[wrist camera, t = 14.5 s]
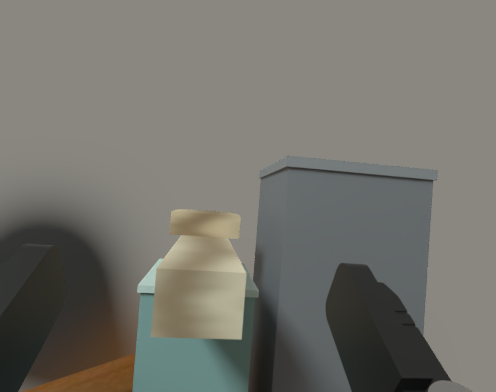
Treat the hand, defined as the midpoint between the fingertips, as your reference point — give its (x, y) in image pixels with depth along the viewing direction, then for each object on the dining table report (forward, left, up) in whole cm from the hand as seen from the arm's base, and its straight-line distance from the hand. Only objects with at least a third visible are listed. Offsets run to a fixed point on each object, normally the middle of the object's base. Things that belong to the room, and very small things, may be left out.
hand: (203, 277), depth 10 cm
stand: (+12, +21, -26) cm, 36 cm away
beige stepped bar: (0, +16, -4) cm, 17 cm away
